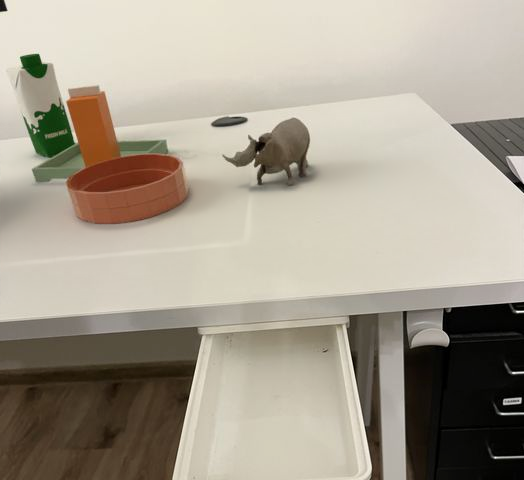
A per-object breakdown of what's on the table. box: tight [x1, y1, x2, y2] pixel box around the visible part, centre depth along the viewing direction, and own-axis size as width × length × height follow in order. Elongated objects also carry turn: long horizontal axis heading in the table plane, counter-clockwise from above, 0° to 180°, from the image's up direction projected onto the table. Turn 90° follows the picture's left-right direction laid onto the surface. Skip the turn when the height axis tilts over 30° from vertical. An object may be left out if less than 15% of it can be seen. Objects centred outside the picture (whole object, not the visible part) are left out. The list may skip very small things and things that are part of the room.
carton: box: [65, 84, 121, 167], centre depth 109 cm, size 6×6×15 cm
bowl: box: [65, 153, 189, 225], centre depth 92 cm, size 19×19×6 cm
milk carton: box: [5, 53, 76, 159], centre depth 122 cm, size 9×9×20 cm
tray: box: [31, 139, 169, 182], centre depth 113 cm, size 22×18×2 cm
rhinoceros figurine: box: [221, 116, 311, 186], centre depth 94 cm, size 8×14×15 cm
